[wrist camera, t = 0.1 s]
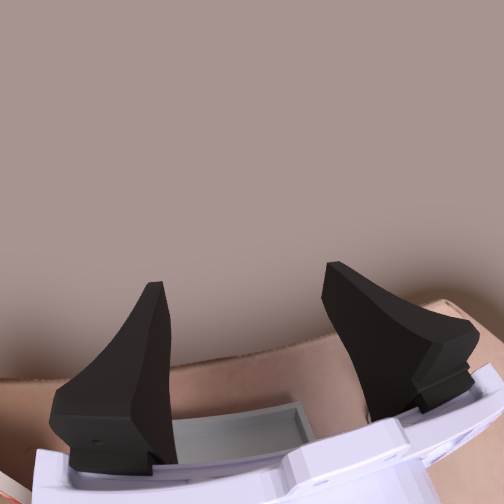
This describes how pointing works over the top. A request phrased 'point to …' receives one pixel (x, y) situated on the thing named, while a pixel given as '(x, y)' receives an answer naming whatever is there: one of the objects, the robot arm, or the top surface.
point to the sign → (14, 490)
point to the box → (241, 434)
